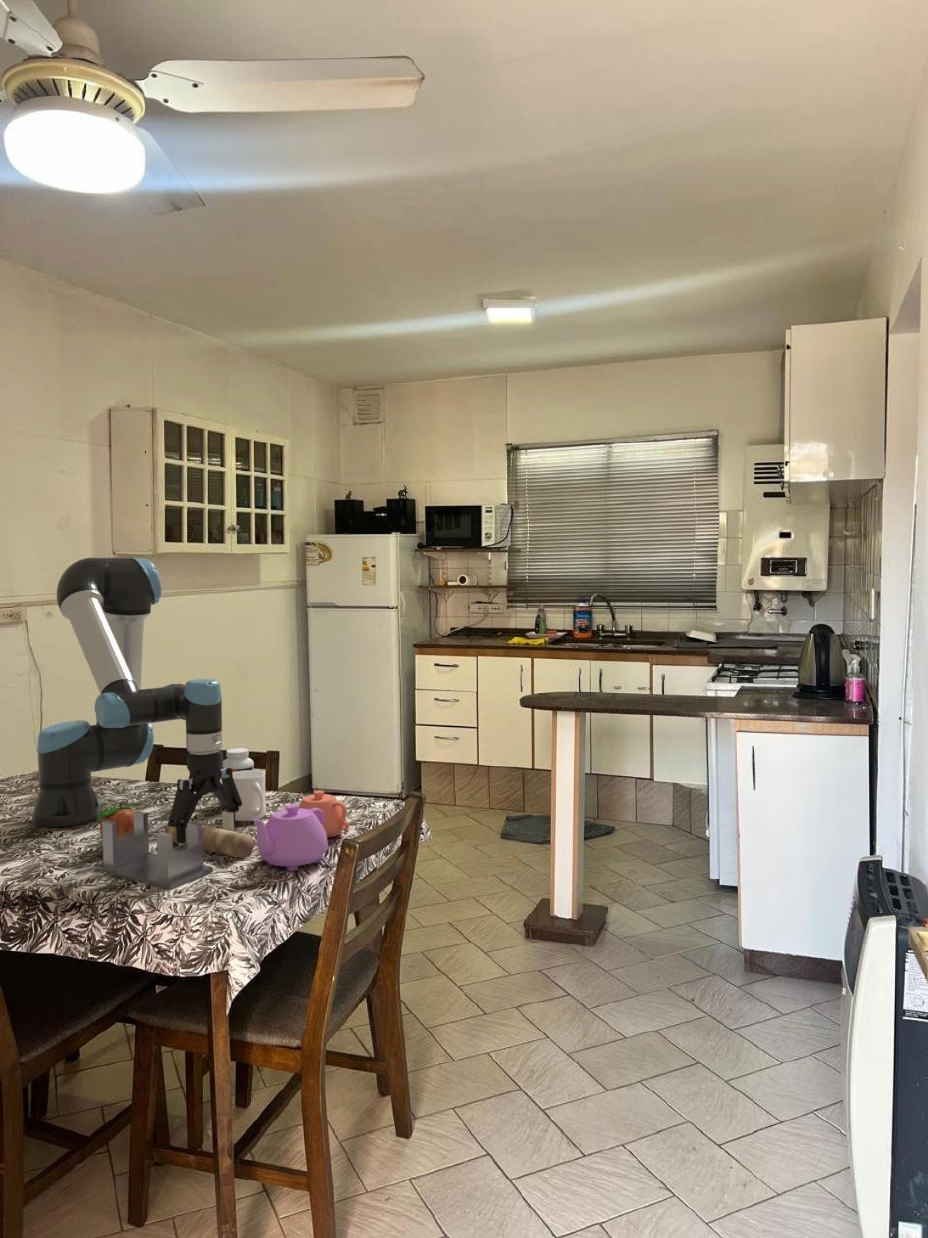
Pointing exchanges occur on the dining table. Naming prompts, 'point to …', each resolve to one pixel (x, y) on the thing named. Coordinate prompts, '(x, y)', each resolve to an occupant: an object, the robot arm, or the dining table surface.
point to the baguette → (222, 841)
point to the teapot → (292, 837)
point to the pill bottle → (238, 760)
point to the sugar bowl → (327, 811)
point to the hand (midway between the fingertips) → (207, 848)
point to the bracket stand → (152, 855)
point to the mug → (250, 794)
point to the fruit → (119, 819)
